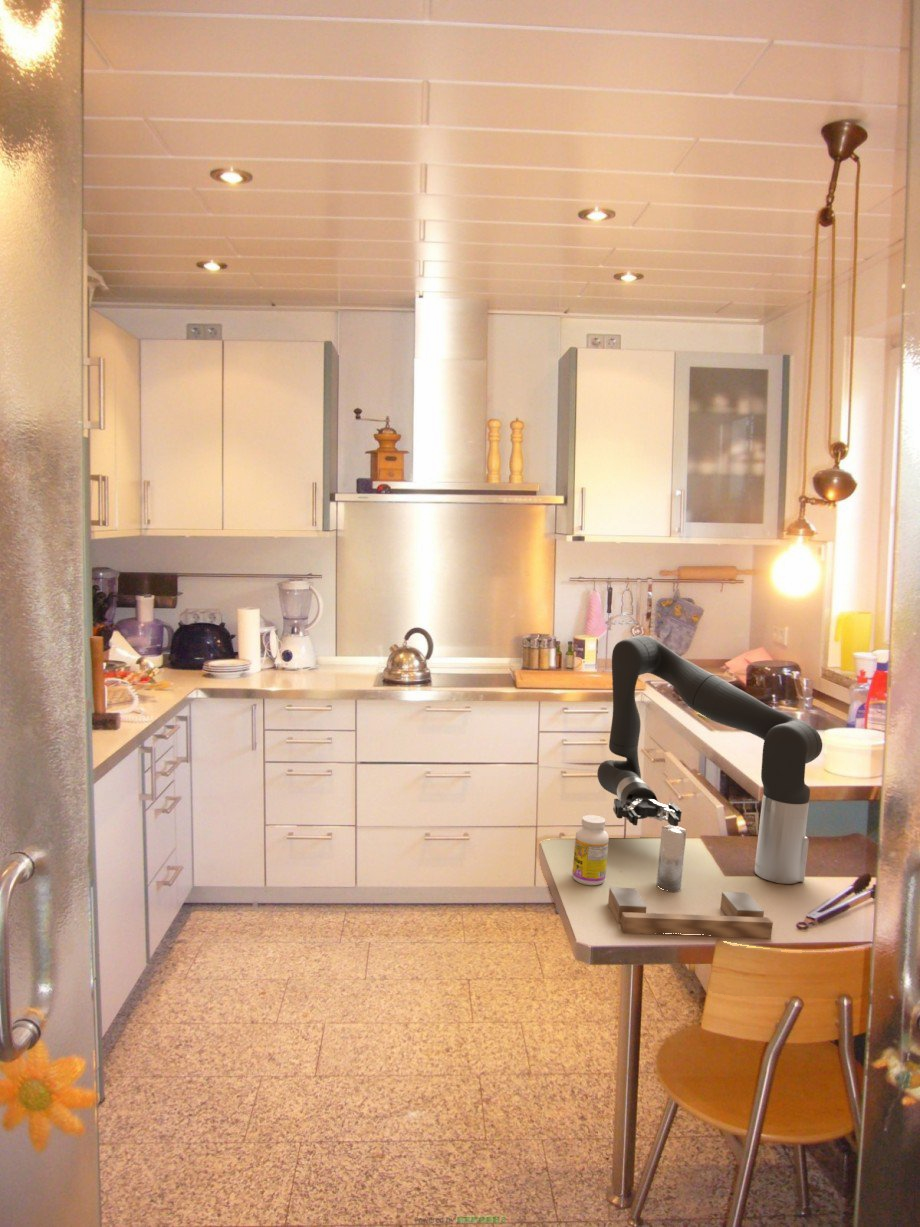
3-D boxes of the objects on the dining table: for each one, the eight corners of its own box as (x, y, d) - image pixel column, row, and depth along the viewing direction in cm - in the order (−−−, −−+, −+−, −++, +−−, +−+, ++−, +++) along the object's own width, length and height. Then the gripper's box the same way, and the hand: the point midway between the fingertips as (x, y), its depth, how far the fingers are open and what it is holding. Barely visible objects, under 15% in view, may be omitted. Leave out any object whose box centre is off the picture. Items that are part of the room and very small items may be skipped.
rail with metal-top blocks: (745, 908, 173) (747, 892, 173) (770, 938, 161) (772, 920, 161) (608, 903, 171) (609, 887, 171) (623, 933, 159) (625, 915, 159)
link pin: (676, 882, 184) (682, 825, 182) (683, 892, 179) (689, 834, 178) (653, 881, 184) (658, 824, 182) (660, 891, 179) (665, 833, 177)
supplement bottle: (569, 872, 185) (574, 812, 184) (600, 873, 186) (605, 813, 184) (575, 886, 179) (581, 823, 177) (608, 887, 179) (614, 825, 178)
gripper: (607, 779, 207) (624, 803, 190) (668, 783, 208) (690, 807, 192) (604, 810, 207) (621, 837, 191) (664, 814, 209) (686, 840, 192)
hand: (655, 822), depth 191 cm, fingers open, 8 cm apart
